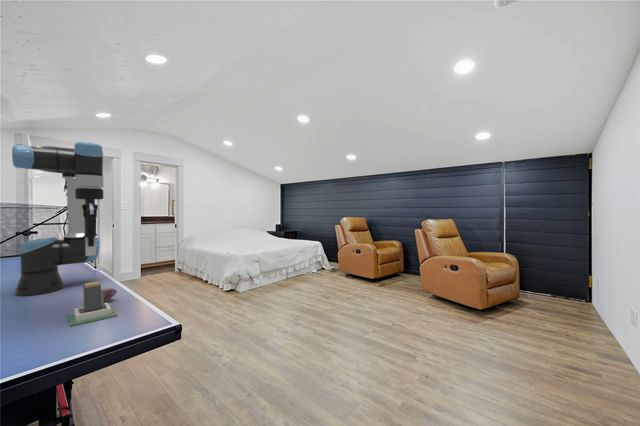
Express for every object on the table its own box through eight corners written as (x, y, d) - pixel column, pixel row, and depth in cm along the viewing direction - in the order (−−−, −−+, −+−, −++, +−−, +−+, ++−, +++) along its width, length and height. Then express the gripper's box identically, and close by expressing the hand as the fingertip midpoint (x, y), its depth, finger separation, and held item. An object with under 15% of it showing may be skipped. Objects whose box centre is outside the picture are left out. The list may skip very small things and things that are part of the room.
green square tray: (68, 315, 96) (68, 308, 96) (111, 307, 104) (111, 300, 104) (70, 326, 87) (70, 318, 87) (117, 316, 96) (117, 308, 95)
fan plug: (83, 314, 96) (83, 283, 95) (102, 310, 99) (102, 280, 99) (84, 318, 93) (84, 285, 92) (104, 313, 96) (103, 282, 96)
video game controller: (90, 312, 103) (96, 296, 103) (80, 306, 104) (87, 290, 103) (114, 303, 113) (120, 288, 112) (105, 297, 114) (112, 282, 113)
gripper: (74, 187, 98) (75, 253, 99) (76, 187, 89) (77, 259, 90) (100, 188, 104) (101, 251, 105) (105, 188, 94) (106, 256, 95)
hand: (90, 255), depth 97 cm, fingers closed
